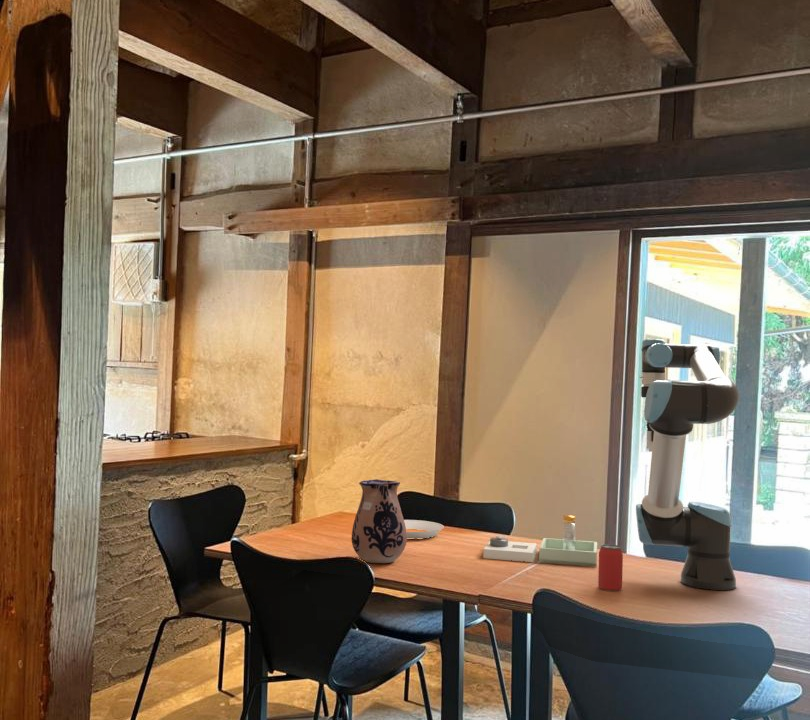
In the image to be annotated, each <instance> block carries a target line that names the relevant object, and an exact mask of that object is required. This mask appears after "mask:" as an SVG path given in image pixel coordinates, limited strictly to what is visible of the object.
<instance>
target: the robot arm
mask: <svg viewBox="0 0 810 720" xmlns="http://www.w3.org/2000/svg"><path fill="white" fill-rule="evenodd" d="M720 352H721V351H720V347H719V346H718V345H715V344H707V343H705V344H692V343H691V344H690V343H689V344H682V343H681V344H680V343H679V344H678V343H667V342H666V341H665V339H662V338H661V339H659V338H647V339H644V340H642V344H641V375H639V379H641V385H643V386H641V388H640V389H641V390H640V391H641V392H640V396H641V397H642V398H644V399H645V401H644V409H643V415H644V416H643V417H644V420H645V421H646V449H647V450H648V452H650V453H651V459H650V468H649V469H650V470H649V479H648V480H649V481H648V492H647V495H645V496H644V497H643V498H642V501H641V503H639V504H635V515H636V523H637V525H636V526H637V527H636V528H637V533H638V534H637V535H638V539H639V541H640V543H642V544H644V545H652V546H668V547H669V546H670V547H684V548H687V555H686V558H685V562H684V563H683V567H682V569H681V573H680V582H681V583H682V584H684V585H686V586H689V587H692V588H697V589H702V588H703V590H709V589H710V590H709V591H711V590H712V591H729V590H733V589H736V588H737V579H736V575H735V573H734V569H733V565H732V564H731V563H732V562H731V558H730V557H731V527H732V525H731V514H730V512H729V511H728V509H726V508H724V507H721V506H718V505H716V504H715V505H714V504H709V503H705V502H697V501H689V502H688V504H687V506H684V504H683V503H682V500H681V499H680V491H681V482H682V481H681V480H682V473H683V467H684V466H683V464H684V457H685V456H684V455H685V449H686V448H685V447H686V439H687V435H690V433H692V431H693V428H694V424H695V425H696V424H697V425H698V424H699V425H710V424H716V423H719V422H721V421H723V420H724V419H726V418H728V417H729V416H730V415H731V414H732V413H734V410H736V408H737V406H738V404H739V396H740V395H739V390H738V387H737V386H736V384H735V383H734V381H732V380H731V379H730V378H728V377H726V375H725V373H724V372H723V370H722V368H721V366H720V362H721V361H720V360H721V353H720ZM667 368H668V369H670V368H671V369H673V368H677V369H678V368H679V369H691V370H692V372H693V374H694V376H695V379H696V380H671V379H666V369H667Z"/></svg>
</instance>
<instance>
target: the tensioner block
mask: <svg viewBox="0 0 810 720" xmlns="http://www.w3.org/2000/svg"><path fill="white" fill-rule="evenodd" d="M537 553H538V543H535V542H521V541H511V540H510V541H509V539H508V538H505V537H503V536H501V535H500V536H498V535H497V536H495V537H490V538H489V541H488V542H487V543H486V545H485V547H484V548H483V554H482V555H483V559H488V560H499V561H500V560H502V561H511V560H512V561H513V562H515V561H516V562H523V561H525V562H526V563H533V562H534V560H535V557H536V555H537Z"/></svg>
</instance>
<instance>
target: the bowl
mask: <svg viewBox="0 0 810 720" xmlns="http://www.w3.org/2000/svg"><path fill="white" fill-rule="evenodd" d="M404 522H405V526H406V529H417V530H426V531H428V532H407V538H414V539H417V538H428V537H432V536H434V537H436V536H437V534H439V532H441V530H443V529H444V525H443V524H441V523H439V522H435V521H429V520H428V521H427V520H421V519H419V520H417V519H404ZM432 538H433V537H432Z"/></svg>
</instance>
